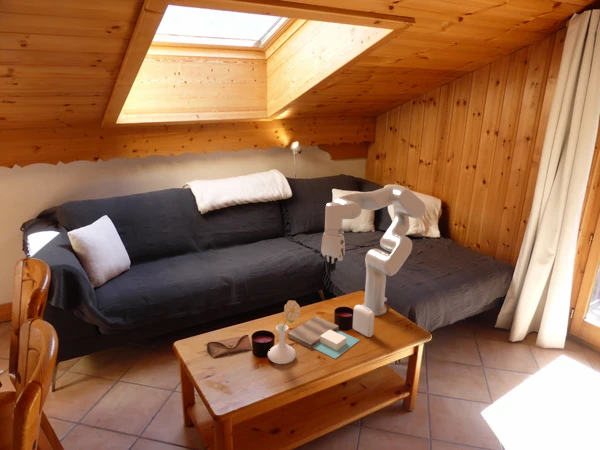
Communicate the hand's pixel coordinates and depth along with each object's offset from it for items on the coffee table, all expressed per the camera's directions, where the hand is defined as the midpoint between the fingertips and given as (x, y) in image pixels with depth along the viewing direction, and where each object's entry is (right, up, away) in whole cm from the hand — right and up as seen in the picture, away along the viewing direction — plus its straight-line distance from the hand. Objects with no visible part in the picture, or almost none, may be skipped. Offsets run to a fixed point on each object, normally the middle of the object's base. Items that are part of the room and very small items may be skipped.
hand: (331, 270), depth 181 cm
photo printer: (+14, -28, +2) cm, 32 cm away
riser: (-8, -28, 0) cm, 29 cm away
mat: (+1, -31, -8) cm, 32 cm away
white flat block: (0, -30, -7) cm, 31 cm away
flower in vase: (-21, -33, -17) cm, 43 cm away
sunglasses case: (-43, -32, -12) cm, 55 cm away
